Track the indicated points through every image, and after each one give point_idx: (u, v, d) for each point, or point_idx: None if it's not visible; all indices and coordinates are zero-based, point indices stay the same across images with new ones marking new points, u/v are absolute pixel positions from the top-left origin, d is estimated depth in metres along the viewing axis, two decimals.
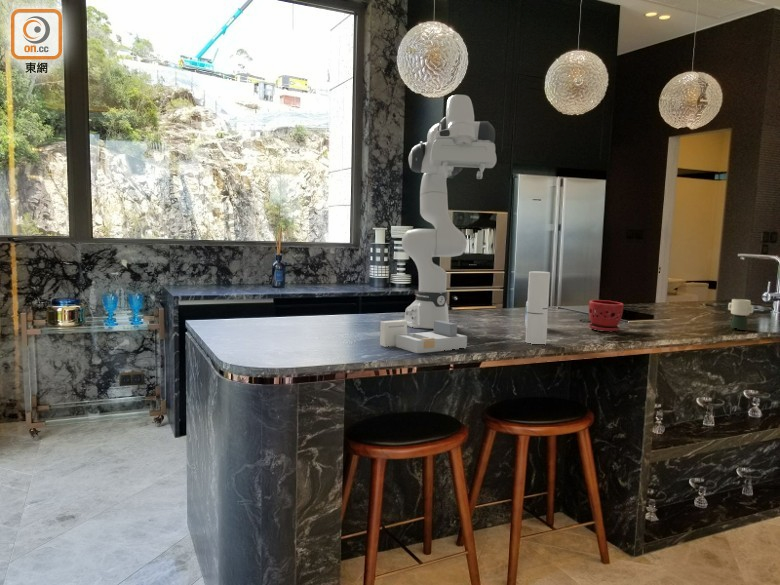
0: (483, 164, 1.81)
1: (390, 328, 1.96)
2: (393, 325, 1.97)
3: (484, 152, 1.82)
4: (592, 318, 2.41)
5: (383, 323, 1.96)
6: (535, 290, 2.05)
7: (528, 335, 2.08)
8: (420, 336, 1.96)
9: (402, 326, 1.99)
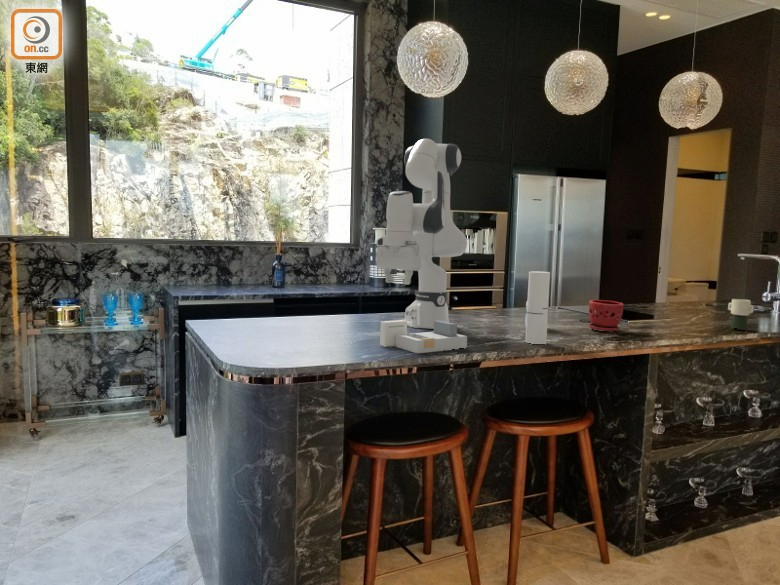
0: (406, 271, 1.90)
1: (390, 328, 1.96)
2: (393, 325, 1.97)
3: (405, 259, 1.89)
4: (592, 318, 2.41)
5: (383, 323, 1.96)
6: (535, 290, 2.05)
7: (528, 335, 2.08)
8: (420, 336, 1.96)
9: (402, 326, 1.99)
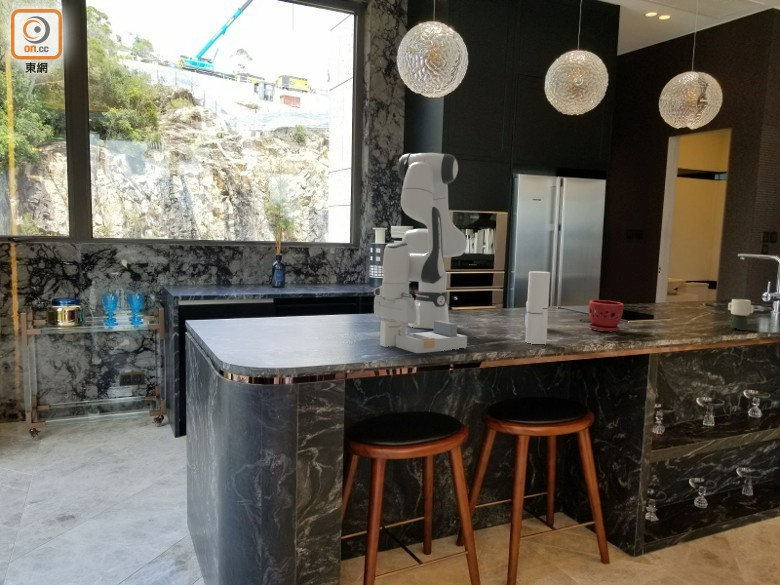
0: (401, 323, 1.93)
1: (390, 328, 1.96)
2: (393, 325, 1.97)
3: (401, 311, 1.91)
4: (592, 318, 2.41)
5: (383, 323, 1.96)
6: (535, 290, 2.05)
7: (528, 335, 2.08)
8: (420, 336, 1.96)
9: None
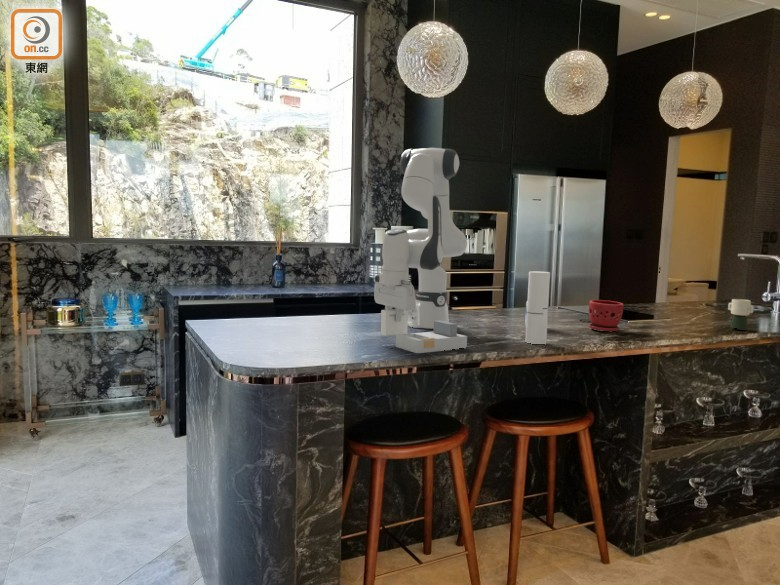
0: (397, 309, 1.95)
1: (391, 317, 1.96)
2: (394, 314, 1.97)
3: (400, 299, 1.92)
4: (592, 318, 2.41)
5: (384, 312, 1.96)
6: (535, 290, 2.05)
7: (528, 335, 2.08)
8: (420, 336, 1.96)
9: (403, 315, 1.99)
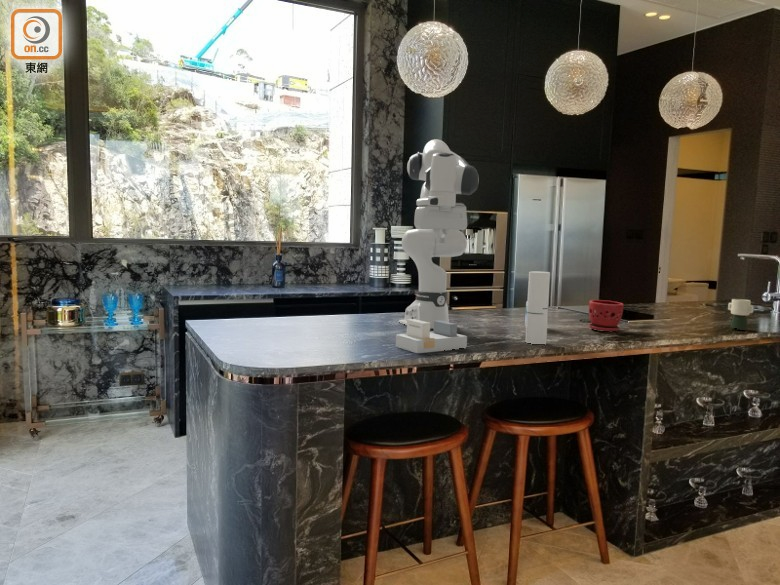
0: (447, 230, 2.02)
1: None
2: None
3: (459, 219, 2.03)
4: (592, 318, 2.41)
5: (427, 324, 1.89)
6: (535, 290, 2.05)
7: (528, 335, 2.08)
8: None
9: None
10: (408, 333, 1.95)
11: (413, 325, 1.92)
